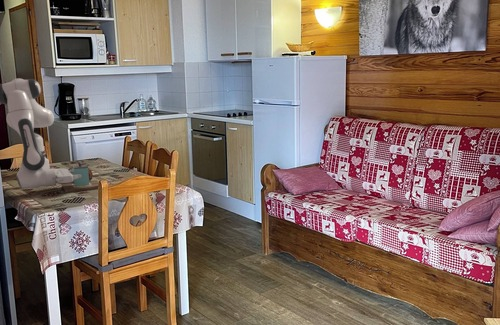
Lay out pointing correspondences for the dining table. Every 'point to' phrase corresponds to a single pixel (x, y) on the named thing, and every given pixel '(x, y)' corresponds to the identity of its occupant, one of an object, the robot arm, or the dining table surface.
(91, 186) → the pin board
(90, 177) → the tin
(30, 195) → the dining table surface
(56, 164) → the dining table surface
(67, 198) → the dining table surface
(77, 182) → the housing
